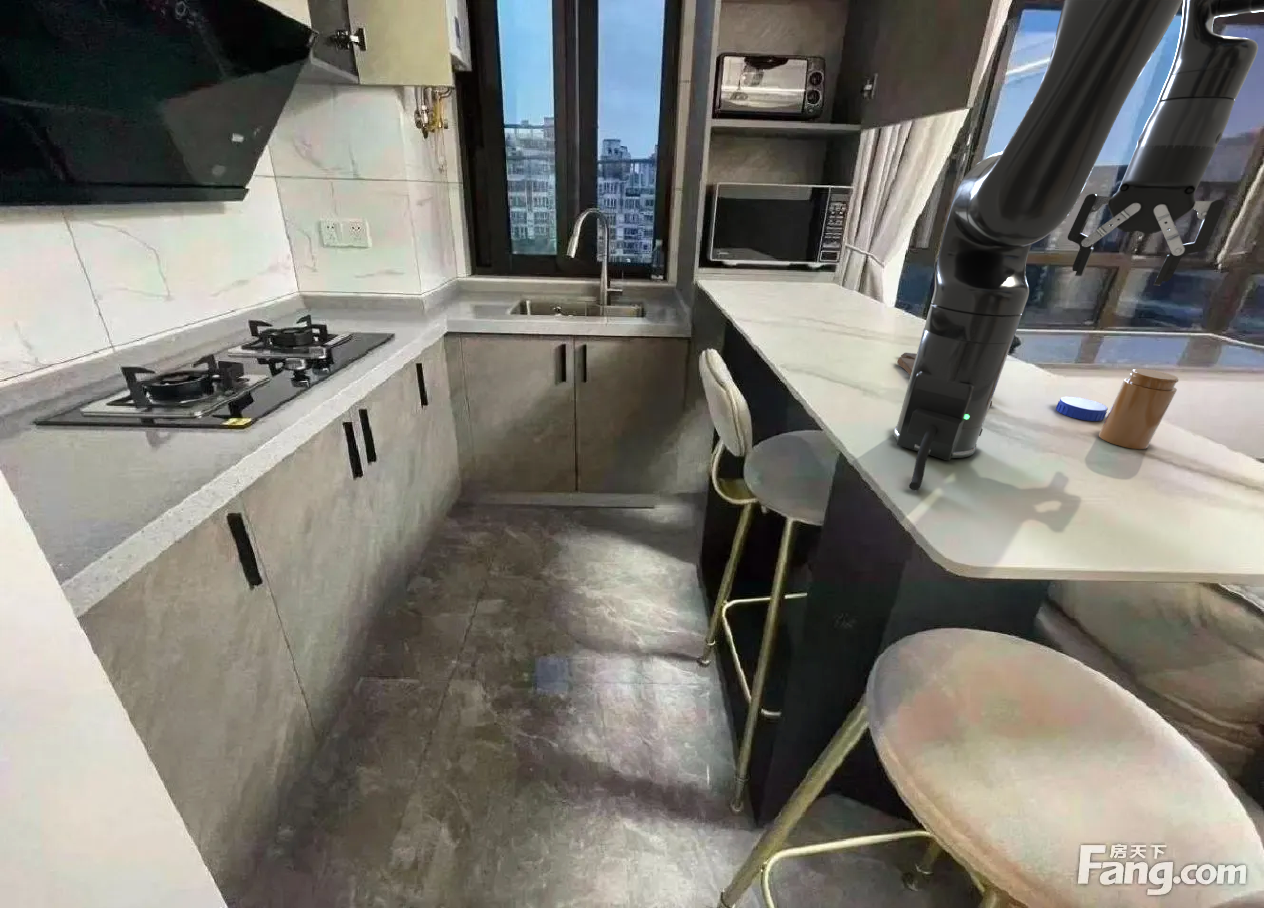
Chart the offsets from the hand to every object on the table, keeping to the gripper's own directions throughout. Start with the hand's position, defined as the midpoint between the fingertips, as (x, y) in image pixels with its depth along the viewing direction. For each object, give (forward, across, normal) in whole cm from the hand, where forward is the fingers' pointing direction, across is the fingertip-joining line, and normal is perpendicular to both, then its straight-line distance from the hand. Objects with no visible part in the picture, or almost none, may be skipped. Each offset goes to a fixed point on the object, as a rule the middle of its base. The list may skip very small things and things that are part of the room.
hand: (1116, 280), depth 74 cm
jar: (+19, -8, +8) cm, 22 cm away
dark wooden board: (+20, +18, -2) cm, 27 cm away
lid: (+18, -2, 0) cm, 18 cm away
